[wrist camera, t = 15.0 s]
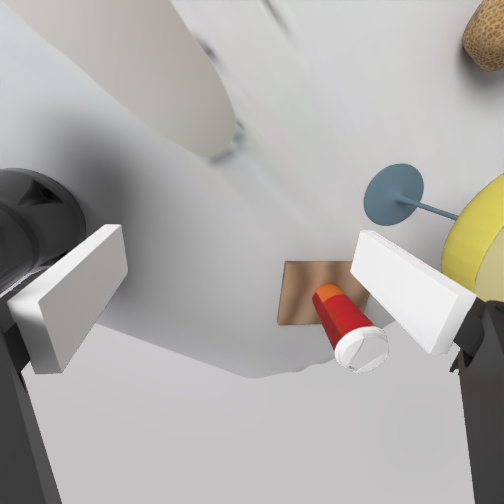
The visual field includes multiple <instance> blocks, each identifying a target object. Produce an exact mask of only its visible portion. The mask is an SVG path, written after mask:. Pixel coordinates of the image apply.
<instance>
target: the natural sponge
mask: <svg viewBox="0 0 504 504" xmlns="http://www.w3.org/2000/svg"><path fill="white" fill-rule="evenodd" d="M462 42H463V47H464V48H465V50H466V51H467V53H468V54H469V55H470V56H471V57H472V59H473V60H474V62H475V63H476V64H477V66H478V67H480V68H481V69H482V70H486V71H494V70H498V69H501V68H503V67H504V0H483V1H482V3H481V4H480V5H479V7H478V8H477V10H476V11H475V13H474V14H473V16H472V17H471V19H470V21H469V23H468V24H467V26H466V29H465V31H464V35H463V39H462Z"/></svg>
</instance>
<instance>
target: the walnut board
mask: <svg viewBox="0 0 504 504" xmlns="http://www.w3.org/2000/svg"><path fill="white" fill-rule="evenodd" d="M351 266H352V262H350V261H285V265H284V273H283V280H282V288H281V295H280V302H279V310H278V317H277V322H278V325H307V324H322V323H321V320H320V318H319V316H318V314H317V312H316V309H315V307H314V304H313V301H312V296H313V293H314V292H315V290H316V289H317V288H318V287H320V286H322V285H324V284H334V285H336V286H337V287H339V288H340V289H341V290H342V291H343V292H344V293H345V294H346V295H347V296H348V298H349V299H350V300H351V301H352V302H353V303H354V304H355V305H356V306H357V307H358V308H359V309H360V310H361V311H362V313H364V309H365V306H366V303H367V299H368V296H369V293H370V292H369V291H368V290H367V289H366V288H365V287H364V286H363V285H362V284H361V283H360V282H359V281H358V280H357V279H356V278H355V277H354V276H353V275H352V274H351V272H350V270H351Z"/></svg>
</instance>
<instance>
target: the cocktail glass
mask: <svg viewBox="0 0 504 504" xmlns="http://www.w3.org/2000/svg"><path fill="white" fill-rule="evenodd" d="M423 188H424V186H423V179H422V176H421V174H420V173H419V171H418V170H417V169H416V168H414V167H413V166H411V165H408V164H395V165H391V166H389V167H387V168H385V169H383V170H382V171H380V172H379V173H378V174H377V175H376V176H375V177H374V178H373V179H372V181H371V182H370V184H369V186H368V188H367V190H366V193H365V197H364V208H365V212H366V214H367V216H368V217H369V218H370V219H371V220H372V221H373V222H375V223H377V224H380V225H393V224H396V223H399V222H401V221H403V220H404V219H406V218H407V217H408V216H409V215H411V214H412V212H413V211H414V210H415V209H416V207H419V208H422V209H425V210H428V211H431V212H434V213H436V214H439V215H442V216H445V217H448V218H450V219H453V220H456V221H455V223H454V225H453V227H452V229H451V231H450V232H449V235H448V237H447V240H446V242H445V245H444V250H443V254H442V258H441V273H442V274H443V275H445V276H447V277H448V278H450V279H451V280H453V281H455V282H456V283H458V284H459V285H461V286H463V287H464V288H466V289H468V290H469V291H471V292H472V293H474V294H476V295H477V297H478V298H480V299H481V300H483V301H484V302H486V301H489V300H497V301H501V302H504V173H503V174H501V175H500V176H499V177H497V178H496V179H495V180H493V181H492V182H491V183H489V184H488V185H487V186H486V187H485V188H484V189H483V190H482V191H480V192H479V193H478V194H477V195H476V196H475V197H474V198H473V199H472V200H471V202H470V203H469V204H468V205H467V206H466V207H465V208H464V210H463V211H462V213H461V214H460V216H457V215H454V214H451V213H448V212H445V211H442V210H439V209H436V208H434V207H431V206H428V205H425V204H422V203H420V200H421V198H422V194H423Z"/></svg>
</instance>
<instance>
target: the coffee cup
mask: <svg viewBox="0 0 504 504" xmlns="http://www.w3.org/2000/svg"><path fill="white" fill-rule="evenodd" d="M312 301H313V304H314V307H315V309H316V312H317V314H318V316H319V318H320V320H321V323H322V325H323V327H324V329H325V331H326V334H327V336H328V338H329V340H330V342H331V345H332V347H333V349H334V351H335V358H336V361H337V362H338V363H339V364H340V365H342V366H343V367H345V368H347V369H348V370H350V371H354V372H356V373H363V372H367V371H370V370H373V369H374V368H376V367H378V366H379V365H380V364H382V363H383V361H384V360H385V359H386V358H387V356H388V353H389V347H388V342H387V336H386V335H385V332H384V331H383V330H382V329H381V328H378V327H375V325H374V324H373V323H372V322H371V321H370V320H369V319H368V318H367V317H366V316H365V315H364V314H363V313H362V311H361V310H360V309H359V308H358V307H357V306H356V305H355V304H354V303H353V302H352V301H351V300H350V299H349V298H348V296H347V295H346V294H345V293H344V292H343V291H342V290H341V289H340V288H339V287H337V286H336V285H334V284H324V285H322V286H320V287H318V288H317V289H316V290H315V292H314V293H313V296H312Z"/></svg>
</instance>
